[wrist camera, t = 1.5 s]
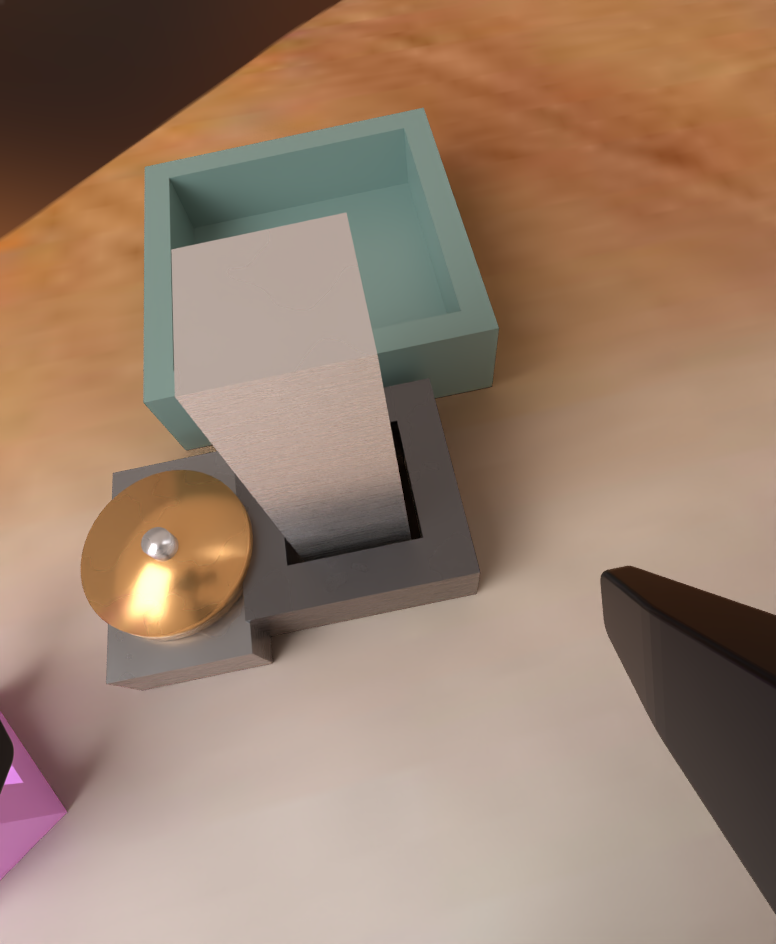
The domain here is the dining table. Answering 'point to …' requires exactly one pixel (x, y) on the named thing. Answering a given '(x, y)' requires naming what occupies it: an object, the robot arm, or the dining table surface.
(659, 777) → the dining table surface
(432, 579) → the tensioner bracket
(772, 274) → the dining table surface
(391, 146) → the tray
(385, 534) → the pin
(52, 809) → the bracket
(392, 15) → the dining table surface
